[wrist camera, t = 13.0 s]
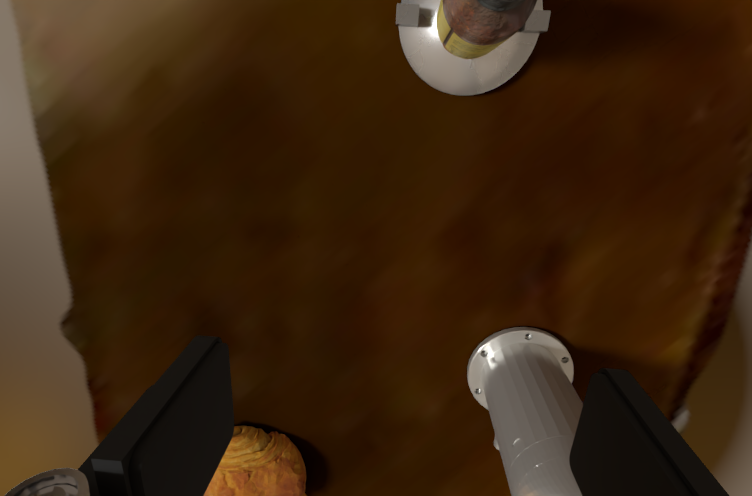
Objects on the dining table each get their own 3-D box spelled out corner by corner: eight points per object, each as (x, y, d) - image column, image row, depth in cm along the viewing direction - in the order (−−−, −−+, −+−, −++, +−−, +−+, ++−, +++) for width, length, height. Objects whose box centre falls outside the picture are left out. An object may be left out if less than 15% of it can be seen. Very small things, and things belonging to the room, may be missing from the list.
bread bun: (221, 484, 66) (196, 540, 59) (205, 413, 58) (175, 467, 51) (314, 494, 65) (300, 553, 58) (310, 424, 57) (294, 481, 50)
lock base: (527, 99, 42) (535, 99, 39) (392, 91, 42) (391, 91, 40) (553, -57, 37) (564, -68, 35) (401, -64, 38) (401, -75, 35)
